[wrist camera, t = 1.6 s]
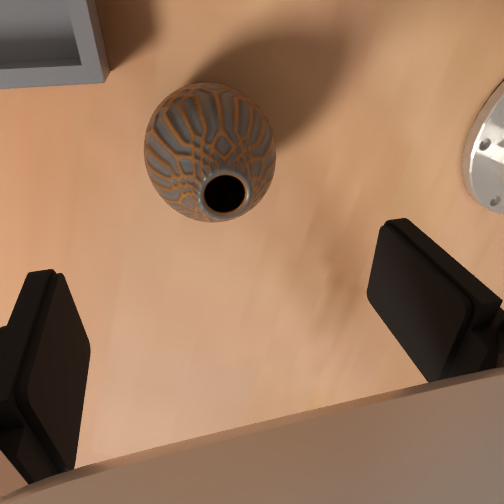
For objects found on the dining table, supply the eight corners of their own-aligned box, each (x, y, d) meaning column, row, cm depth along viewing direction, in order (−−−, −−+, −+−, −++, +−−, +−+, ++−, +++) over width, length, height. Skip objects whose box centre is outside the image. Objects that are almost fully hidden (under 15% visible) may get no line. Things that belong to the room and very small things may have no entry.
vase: (176, 46, 20) (189, 76, 13) (278, 110, 23) (332, 162, 16) (126, 156, 23) (114, 229, 16) (224, 201, 26) (250, 279, 19)
